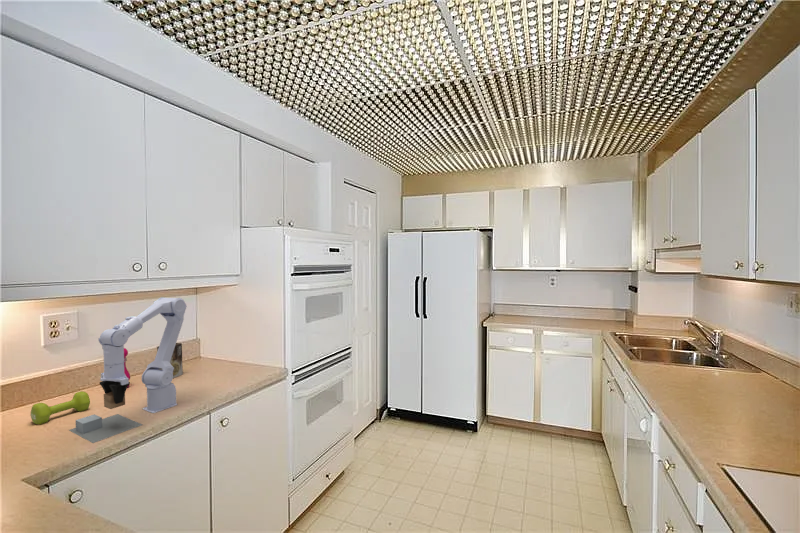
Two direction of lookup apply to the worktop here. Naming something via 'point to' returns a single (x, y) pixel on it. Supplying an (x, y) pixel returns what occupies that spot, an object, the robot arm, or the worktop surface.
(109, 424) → the mat
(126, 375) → the pepper mill
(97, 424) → the base block
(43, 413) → the dumbbell
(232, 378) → the worktop surface
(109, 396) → the walnut block
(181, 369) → the coffee box
